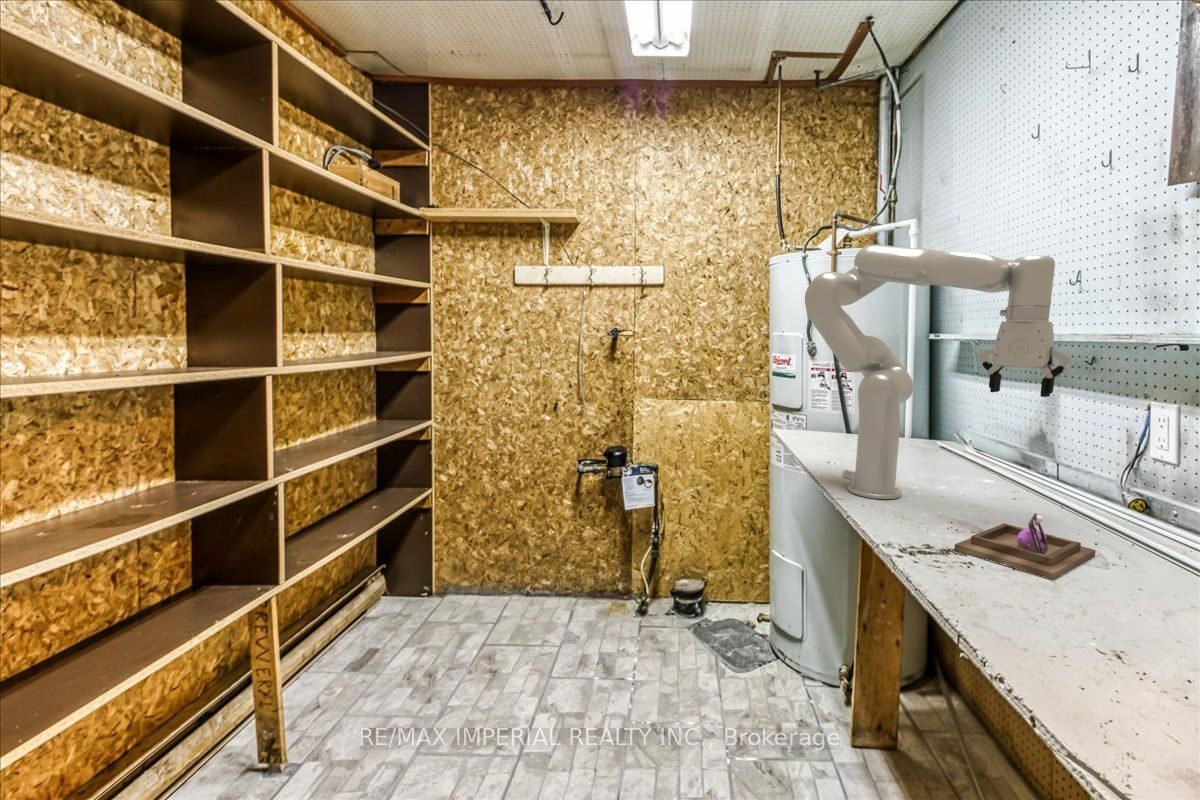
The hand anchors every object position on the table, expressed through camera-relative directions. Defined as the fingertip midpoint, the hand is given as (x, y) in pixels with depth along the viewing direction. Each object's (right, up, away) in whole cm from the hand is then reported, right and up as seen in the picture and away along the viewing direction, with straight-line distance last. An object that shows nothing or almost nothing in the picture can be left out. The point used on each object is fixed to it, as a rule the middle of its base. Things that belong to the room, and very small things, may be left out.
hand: (1019, 394), depth 131 cm
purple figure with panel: (-12, -30, -19) cm, 37 cm away
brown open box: (-11, -31, -17) cm, 36 cm away
